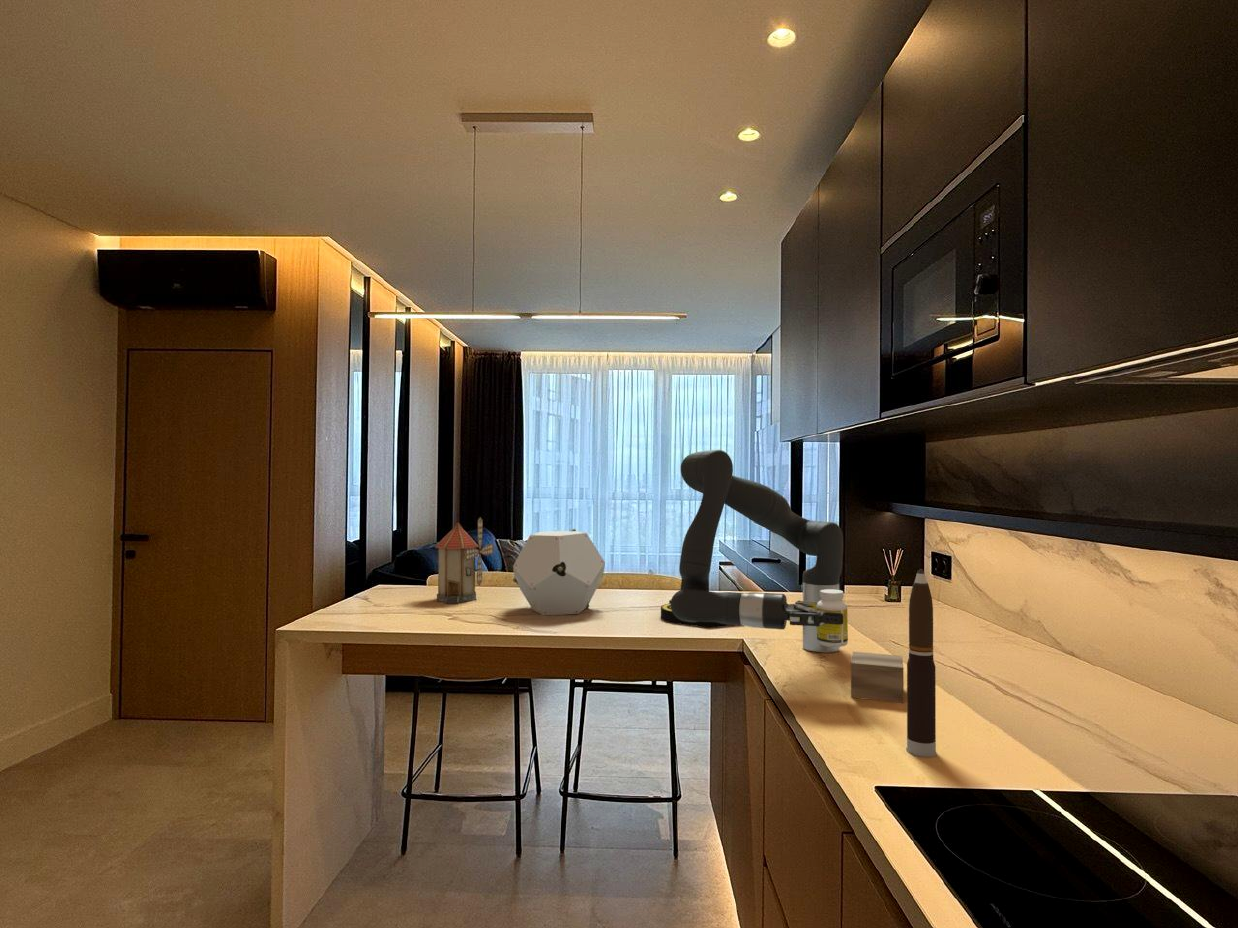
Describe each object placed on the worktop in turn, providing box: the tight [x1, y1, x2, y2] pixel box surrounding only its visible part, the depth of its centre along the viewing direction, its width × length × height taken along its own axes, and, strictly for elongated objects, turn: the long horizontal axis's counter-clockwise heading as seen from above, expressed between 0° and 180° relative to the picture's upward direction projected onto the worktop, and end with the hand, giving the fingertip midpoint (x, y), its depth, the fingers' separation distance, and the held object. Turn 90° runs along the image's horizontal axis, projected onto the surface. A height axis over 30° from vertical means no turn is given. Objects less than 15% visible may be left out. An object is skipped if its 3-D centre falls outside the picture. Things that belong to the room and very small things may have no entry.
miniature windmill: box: [434, 516, 495, 605], centre depth 257 cm, size 24×20×30 cm
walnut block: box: [850, 651, 905, 704], centre depth 149 cm, size 10×10×7 cm
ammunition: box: [906, 568, 937, 758], centre depth 117 cm, size 5×5×30 cm
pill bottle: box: [817, 589, 849, 648], centre depth 149 cm, size 6×6×11 cm
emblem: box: [660, 599, 736, 629], centre depth 226 cm, size 30×4×30 cm
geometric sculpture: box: [512, 528, 606, 616], centre depth 238 cm, size 30×30×30 cm
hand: (843, 615), depth 148 cm, fingers closed on pill bottle, 6 cm apart
